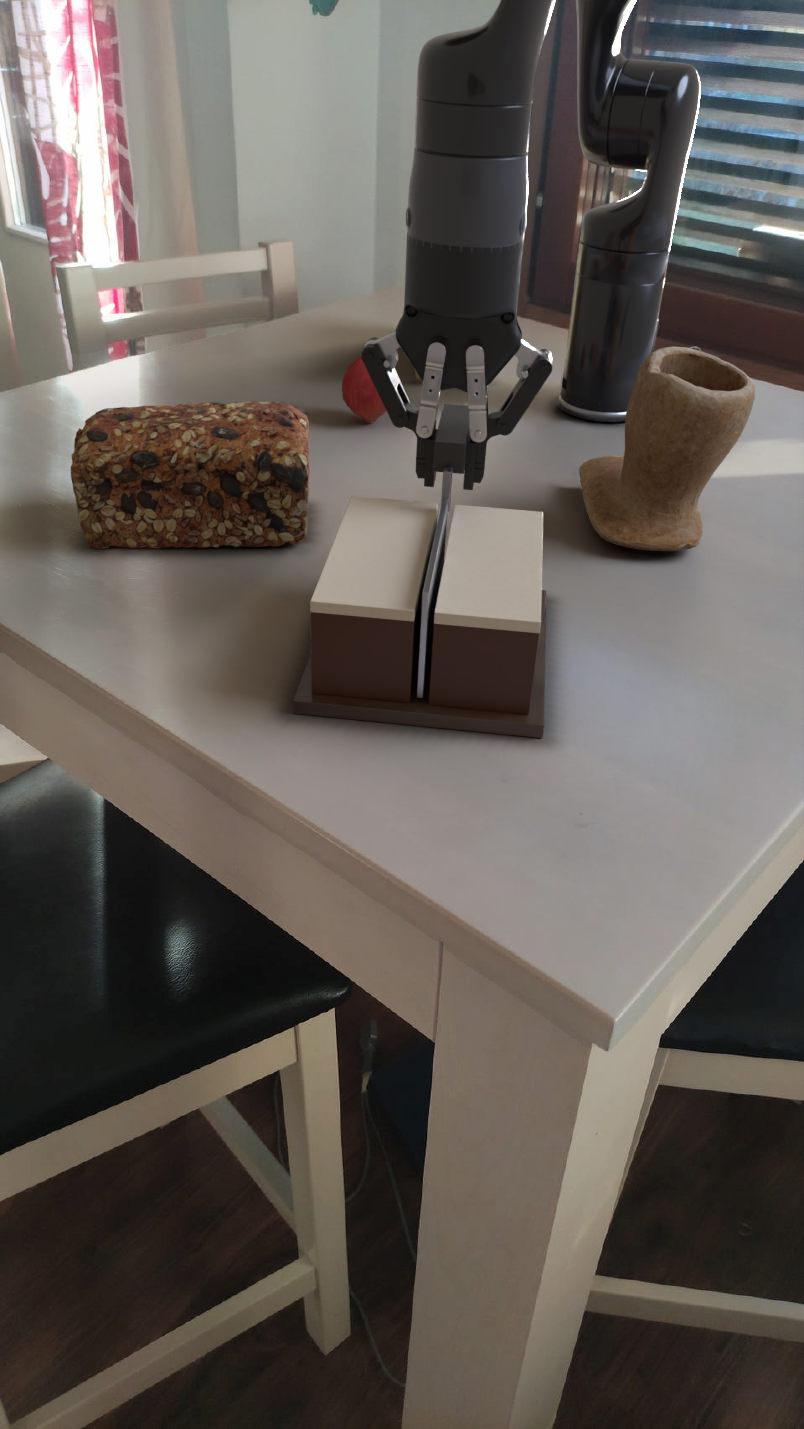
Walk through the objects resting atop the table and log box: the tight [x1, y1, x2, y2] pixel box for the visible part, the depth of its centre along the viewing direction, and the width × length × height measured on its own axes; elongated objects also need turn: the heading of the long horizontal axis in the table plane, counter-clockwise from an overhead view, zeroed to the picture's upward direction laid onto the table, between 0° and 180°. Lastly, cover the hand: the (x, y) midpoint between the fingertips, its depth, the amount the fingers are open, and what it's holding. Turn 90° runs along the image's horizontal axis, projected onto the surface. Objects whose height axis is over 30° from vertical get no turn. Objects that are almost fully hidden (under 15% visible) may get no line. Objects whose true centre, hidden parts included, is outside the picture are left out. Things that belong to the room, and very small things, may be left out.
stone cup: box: [578, 346, 756, 552], centre depth 89 cm, size 15×12×15 cm
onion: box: [341, 354, 387, 424], centre depth 109 cm, size 6×6×8 cm
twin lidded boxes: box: [292, 495, 547, 739], centre depth 72 cm, size 18×16×8 cm
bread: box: [70, 400, 311, 550], centre depth 87 cm, size 19×11×10 cm, turn 94°
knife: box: [417, 403, 470, 698], centre depth 73 cm, size 23×2×11 cm, turn 173°
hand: (448, 483), depth 77 cm, fingers closed on knife, 2 cm apart
